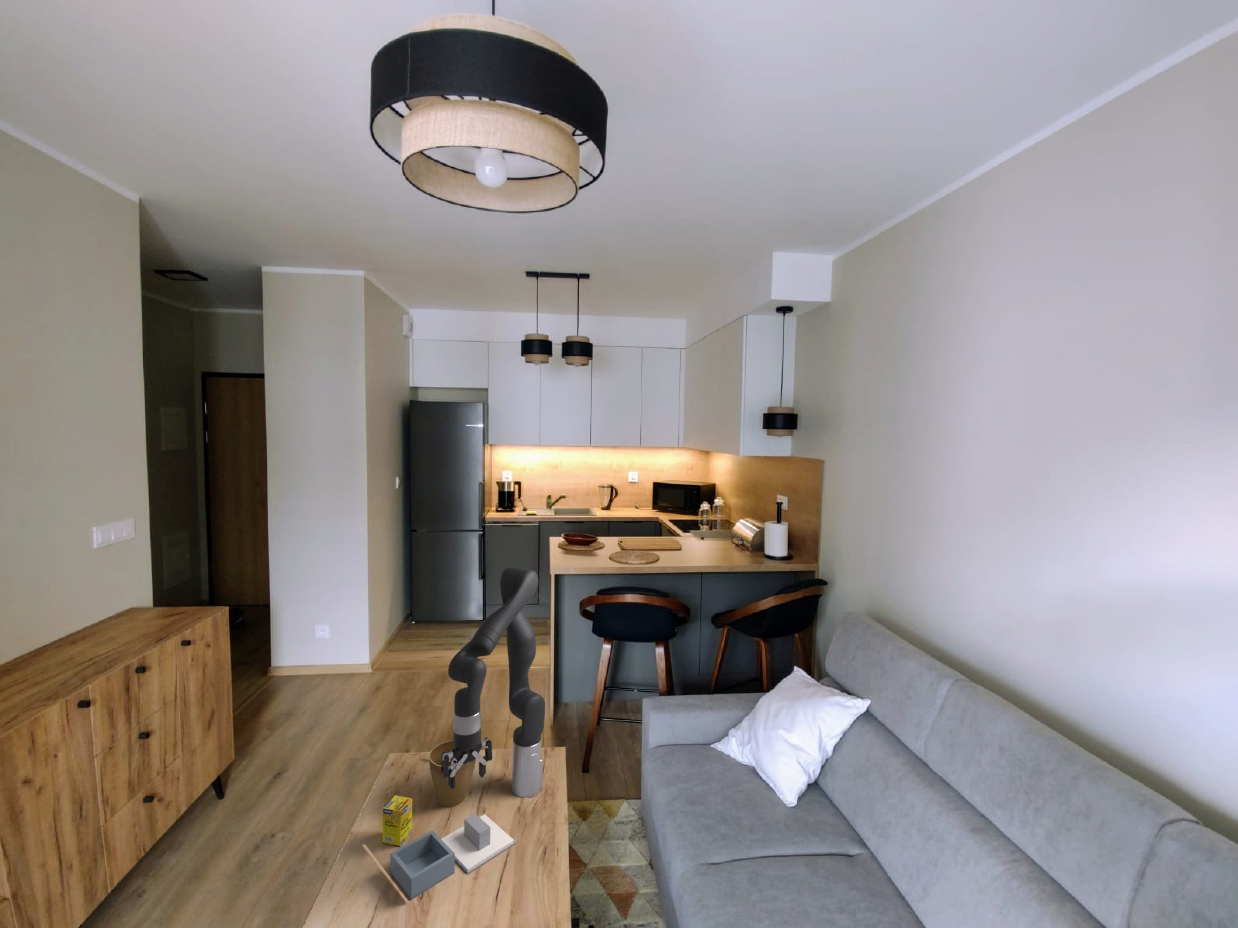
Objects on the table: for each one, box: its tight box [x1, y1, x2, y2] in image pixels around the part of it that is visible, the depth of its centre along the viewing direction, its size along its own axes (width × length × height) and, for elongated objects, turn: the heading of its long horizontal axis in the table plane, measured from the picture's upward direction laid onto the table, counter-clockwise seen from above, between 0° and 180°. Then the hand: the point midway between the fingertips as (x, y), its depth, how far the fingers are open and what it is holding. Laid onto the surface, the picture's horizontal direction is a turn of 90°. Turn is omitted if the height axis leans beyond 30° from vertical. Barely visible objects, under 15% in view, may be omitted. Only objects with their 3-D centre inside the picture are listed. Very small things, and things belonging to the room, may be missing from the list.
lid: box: [440, 813, 515, 873], centre depth 156 cm, size 15×15×6 cm
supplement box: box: [381, 794, 413, 848], centre depth 157 cm, size 6×6×11 cm
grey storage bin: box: [389, 830, 456, 900], centre depth 145 cm, size 12×12×6 cm
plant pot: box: [428, 739, 477, 808], centre depth 174 cm, size 15×15×16 cm
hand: (467, 781), depth 154 cm, fingers open, 8 cm apart
